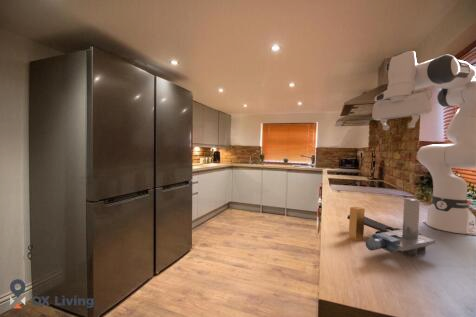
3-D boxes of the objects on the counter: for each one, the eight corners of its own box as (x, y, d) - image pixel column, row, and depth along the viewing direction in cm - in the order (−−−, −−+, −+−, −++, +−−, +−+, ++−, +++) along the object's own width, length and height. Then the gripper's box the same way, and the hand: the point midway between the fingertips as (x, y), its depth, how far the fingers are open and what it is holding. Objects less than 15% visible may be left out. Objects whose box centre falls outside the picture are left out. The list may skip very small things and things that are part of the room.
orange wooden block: (356, 237, 85) (357, 206, 85) (363, 239, 82) (364, 208, 82) (348, 238, 84) (350, 207, 83) (355, 241, 81) (357, 209, 81)
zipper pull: (355, 212, 95) (429, 229, 75) (354, 226, 96) (428, 247, 76) (344, 216, 90) (421, 235, 70) (344, 231, 90) (420, 255, 70)
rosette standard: (400, 246, 78) (403, 196, 77) (434, 258, 68) (437, 202, 68) (354, 255, 69) (356, 199, 68) (386, 271, 60) (389, 206, 59)
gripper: (437, 88, 77) (434, 126, 77) (380, 100, 96) (378, 131, 96) (426, 84, 75) (424, 124, 75) (370, 98, 94) (368, 130, 94)
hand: (398, 128), depth 86 cm, fingers open, 8 cm apart
